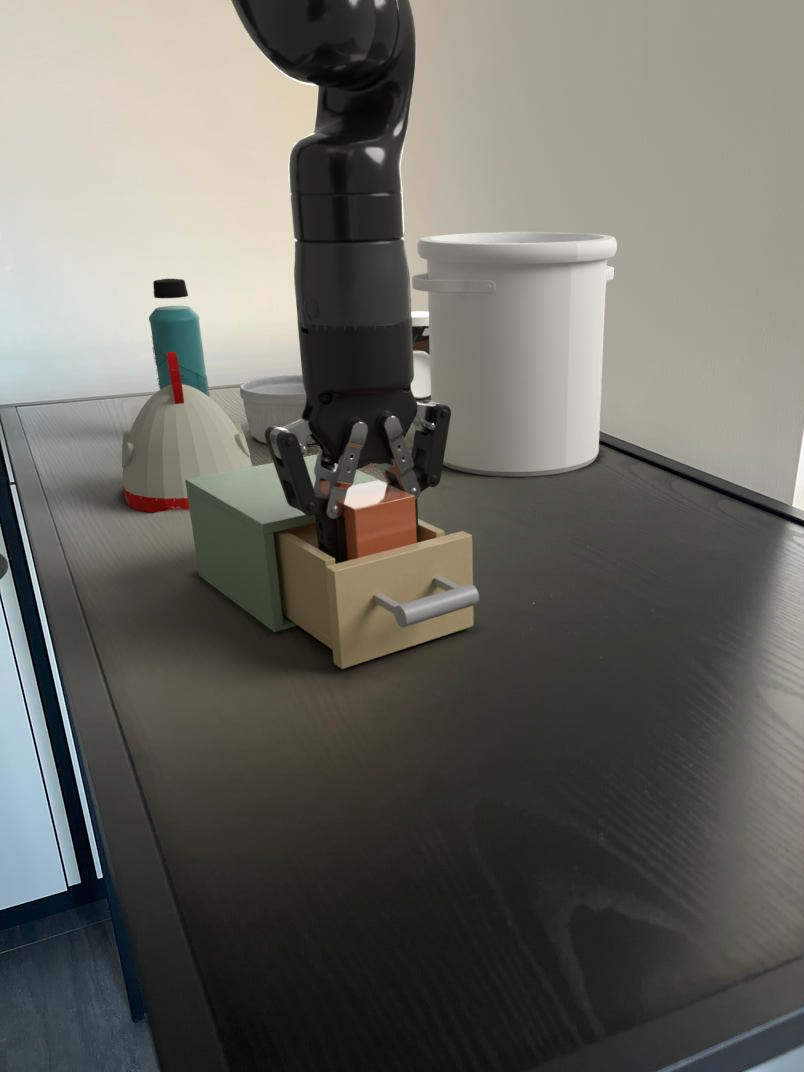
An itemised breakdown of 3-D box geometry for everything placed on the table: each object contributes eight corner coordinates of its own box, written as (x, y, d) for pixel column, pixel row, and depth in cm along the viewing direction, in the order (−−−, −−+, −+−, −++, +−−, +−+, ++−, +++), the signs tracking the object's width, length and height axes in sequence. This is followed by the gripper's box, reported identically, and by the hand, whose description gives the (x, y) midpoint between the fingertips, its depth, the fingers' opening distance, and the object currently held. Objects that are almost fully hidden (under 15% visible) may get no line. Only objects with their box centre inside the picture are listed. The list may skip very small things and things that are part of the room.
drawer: (509, 646, 70) (510, 551, 67) (374, 693, 64) (367, 591, 61) (379, 573, 83) (374, 491, 80) (256, 607, 77) (246, 519, 74)
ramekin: (351, 424, 136) (348, 373, 133) (337, 449, 124) (333, 394, 121) (257, 424, 136) (252, 374, 133) (234, 449, 124) (227, 394, 121)
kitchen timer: (248, 471, 115) (233, 340, 108) (263, 505, 103) (247, 360, 97) (125, 483, 111) (101, 348, 105) (126, 520, 99) (99, 370, 93)
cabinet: (413, 597, 81) (408, 491, 77) (275, 638, 74) (262, 524, 70) (327, 549, 91) (319, 453, 87) (199, 580, 84) (184, 479, 80)
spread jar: (431, 382, 162) (429, 309, 157) (472, 392, 154) (471, 316, 149) (370, 391, 156) (366, 315, 151) (410, 403, 148) (407, 323, 143)
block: (359, 577, 68) (354, 509, 66) (324, 557, 72) (318, 492, 70) (418, 561, 71) (415, 495, 69) (381, 542, 75) (378, 479, 73)
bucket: (546, 426, 134) (550, 228, 123) (655, 462, 117) (671, 237, 106) (380, 453, 122) (369, 237, 111) (475, 498, 105) (472, 248, 94)
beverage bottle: (209, 428, 135) (188, 275, 126) (221, 438, 129) (201, 279, 121) (161, 434, 132) (136, 277, 123) (172, 445, 127) (147, 282, 118)
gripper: (413, 299, 71) (422, 522, 78) (228, 317, 63) (258, 562, 70) (475, 309, 65) (478, 547, 73) (281, 330, 57) (307, 594, 65)
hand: (370, 553), depth 71 cm, fingers closed on block, 5 cm apart
